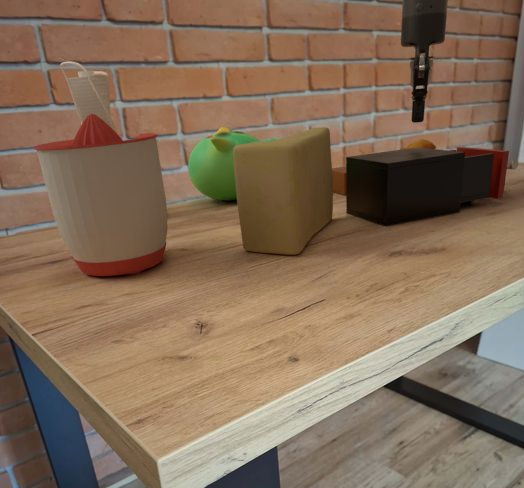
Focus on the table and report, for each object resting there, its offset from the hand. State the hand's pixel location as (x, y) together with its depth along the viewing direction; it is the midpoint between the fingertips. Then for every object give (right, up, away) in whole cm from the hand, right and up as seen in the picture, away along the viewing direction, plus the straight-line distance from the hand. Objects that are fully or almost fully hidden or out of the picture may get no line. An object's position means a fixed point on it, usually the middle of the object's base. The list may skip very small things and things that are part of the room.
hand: (417, 122), depth 97 cm
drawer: (+7, -15, -4) cm, 17 cm away
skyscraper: (-58, -18, +5) cm, 61 cm away
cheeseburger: (+5, -6, +17) cm, 18 cm away
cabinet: (-5, -19, -7) cm, 21 cm away
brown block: (-12, -9, +15) cm, 21 cm away
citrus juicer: (-49, -31, -22) cm, 62 cm away
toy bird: (-36, -10, +16) cm, 40 cm away
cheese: (-23, -25, -15) cm, 38 cm away
